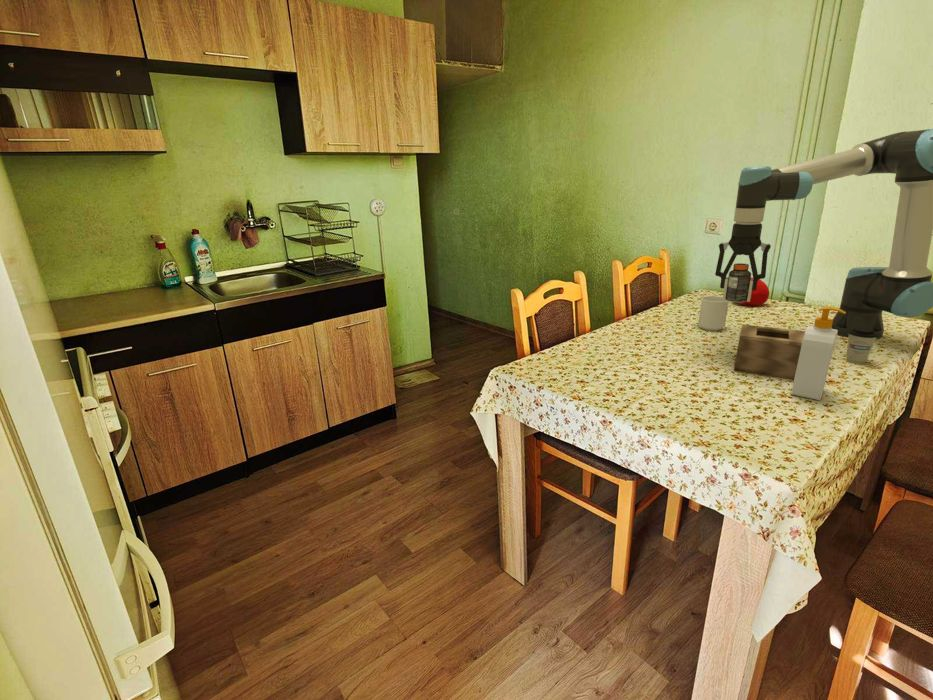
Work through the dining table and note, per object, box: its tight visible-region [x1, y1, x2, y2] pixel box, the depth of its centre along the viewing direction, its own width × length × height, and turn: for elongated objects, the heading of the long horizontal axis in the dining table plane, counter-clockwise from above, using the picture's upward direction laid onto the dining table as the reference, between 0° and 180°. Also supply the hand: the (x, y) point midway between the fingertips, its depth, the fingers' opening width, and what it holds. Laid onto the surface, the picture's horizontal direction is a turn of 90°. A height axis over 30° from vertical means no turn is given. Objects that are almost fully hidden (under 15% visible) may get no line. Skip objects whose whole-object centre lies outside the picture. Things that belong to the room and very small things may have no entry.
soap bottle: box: [791, 306, 846, 401], centre depth 123 cm, size 9×7×23 cm
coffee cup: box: [845, 327, 878, 364], centre depth 144 cm, size 7×7×10 cm
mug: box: [697, 295, 730, 332], centre depth 179 cm, size 12×9×11 cm
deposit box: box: [733, 324, 806, 380], centre depth 141 cm, size 16×12×11 cm
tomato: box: [737, 276, 770, 307], centre depth 207 cm, size 13×13×13 cm
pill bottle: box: [726, 263, 752, 303], centre depth 148 cm, size 6×6×11 cm
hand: (736, 299), depth 149 cm, fingers closed on pill bottle, 6 cm apart
